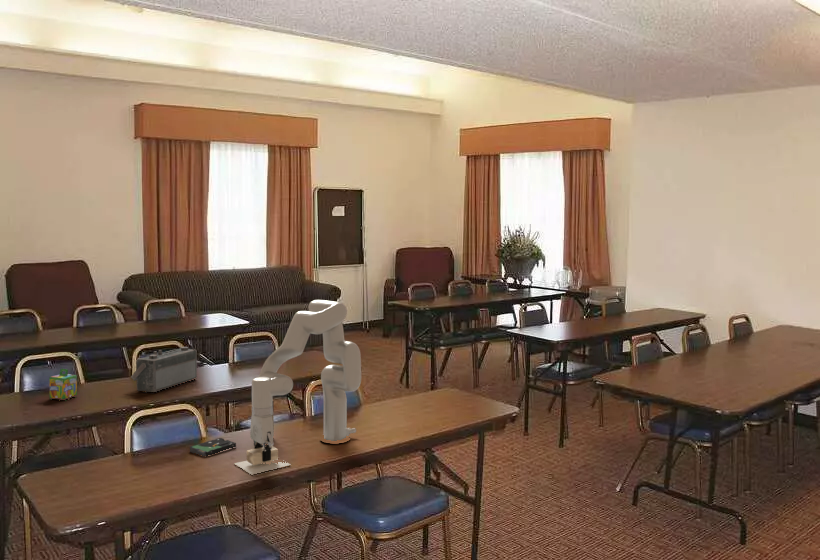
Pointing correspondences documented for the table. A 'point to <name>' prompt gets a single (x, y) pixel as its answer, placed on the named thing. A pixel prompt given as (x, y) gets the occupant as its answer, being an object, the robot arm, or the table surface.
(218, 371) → the table surface
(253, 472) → the mat
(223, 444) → the disk drive
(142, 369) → the radio
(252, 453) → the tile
